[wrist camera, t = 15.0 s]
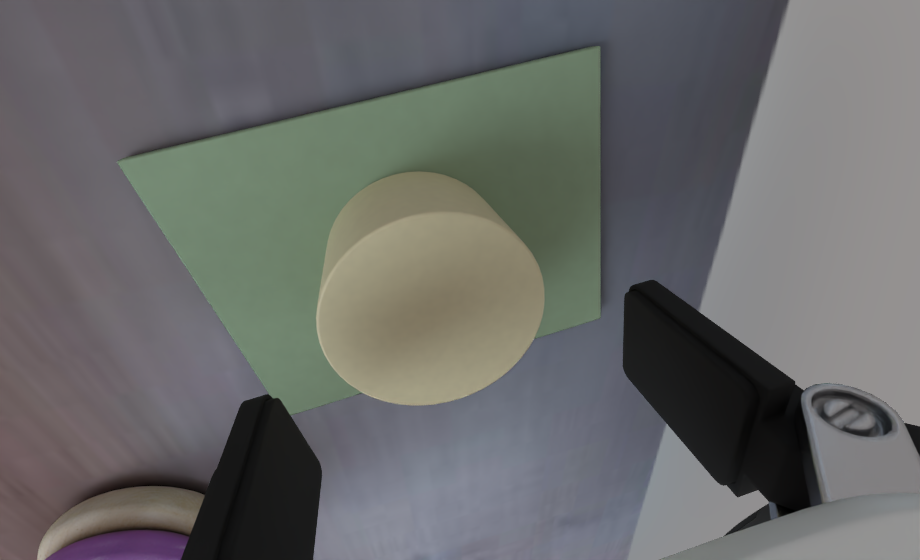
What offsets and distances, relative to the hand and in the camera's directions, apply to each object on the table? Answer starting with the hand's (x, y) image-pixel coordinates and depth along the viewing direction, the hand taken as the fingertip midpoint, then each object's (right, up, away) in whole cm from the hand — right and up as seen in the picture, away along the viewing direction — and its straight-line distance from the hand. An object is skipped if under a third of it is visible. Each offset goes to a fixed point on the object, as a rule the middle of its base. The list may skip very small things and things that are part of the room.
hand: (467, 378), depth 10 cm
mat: (-2, +4, +6) cm, 7 cm away
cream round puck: (-2, +4, +5) cm, 7 cm away
